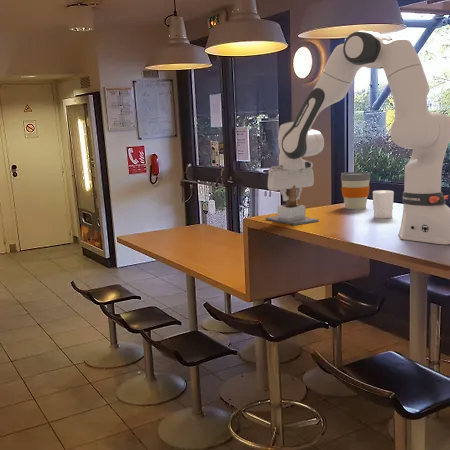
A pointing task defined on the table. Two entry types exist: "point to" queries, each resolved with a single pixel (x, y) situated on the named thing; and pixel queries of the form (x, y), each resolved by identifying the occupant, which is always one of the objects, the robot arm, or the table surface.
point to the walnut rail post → (291, 197)
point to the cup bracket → (292, 215)
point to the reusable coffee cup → (355, 189)
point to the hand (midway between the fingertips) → (291, 200)
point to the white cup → (383, 203)
